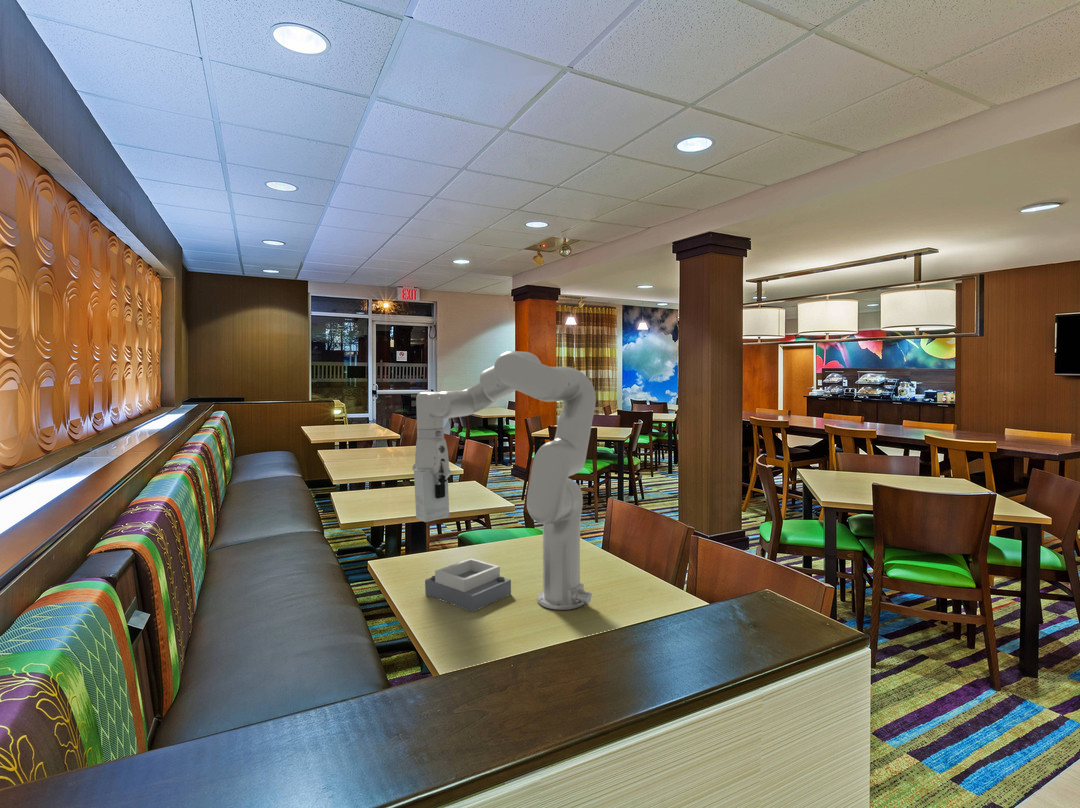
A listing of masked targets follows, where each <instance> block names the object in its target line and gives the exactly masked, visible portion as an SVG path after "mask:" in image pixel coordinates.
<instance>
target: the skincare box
mask: <svg viewBox="0 0 1080 808" xmlns="http://www.w3.org/2000/svg"><path fill="white" fill-rule="evenodd" d="M443 472H444V471H443ZM439 473H441V471H439ZM413 476H414V479H413V480H414V481H413V482H414V483H413V484H414V499H415V500H414V501H415V518H416V519H417V520H419V521H422V522H424V523H427V522H428V523H429V522H432V521H437V520H441V519H446V518H450V501H449V500H450V499H449V495H450V494H449V478H448V479H447V482H446V483H445V497H443V498H438V499H436V498H435V485H436V484H437V483H436V480H435V477H434V475H432V473H431V470H426V469H414V470H413ZM440 478H441V476H439V479H440Z"/></svg>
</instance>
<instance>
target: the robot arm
mask: <svg viewBox="0 0 1080 808" xmlns="http://www.w3.org/2000/svg"><path fill="white" fill-rule="evenodd" d="M516 391H517V392H520V393H522V394H523V395H524V394H525V395H527V396H529V397H531V398H533V399H536V400H539V401H541V402H545V403H546V402H547V403H550V402H551V403H552V402H563V406H562V409H561V411H560V414H559V415H558V420H557V424H556V425H557V426H556V430H555V436H554V439H553V440H550V441H548V442H547V441H546V442H545V443H544V444H543V445H541V446H540V447H539V449H538V450H537V452H536V453H535V456H534V457H533V462H532V465H531V466H532V467H531V472H530V477H529V483H528V488H527V494H526V509H527V511H528V514H529V516H530V517H531V519H532V520H533V521H535V522H536V523H538V524H541V525H543V527H542V585H543V586H542V590H541V591H540V592H538V594H537V596H536V601H537V602H538V604H539V605H540V606H542V607H544V608H546V609H550V610H555V611H556V610H557V611H567V610H572V609H573V610H575V609H578V608H579V607H582V606H583V605H585V604H587V605H589V604H590V603H591V601H592V596H593V594H592V592H590V591H586V590H584V587H585V586H584V584H583V583H581V520H582V519H581V518H582V514H583V513H582V510H583V504H584V498H583V491H582V489H581V487H580V485H579V484H578V483H577V482H576V481H574V480H573V479H572V478H569V477H571V476H574V475H577V474H579V472H581V471H582V470H583V468H584V466H585V464H586V460H587V454H588V448H589V442H590V437H591V431H592V424H593V419H594V415H595V411H596V402H597V401H596V398H597V396H596V391H595V388H594V385H593V383H592V381H591V380H590V378H588V376H587V375H585V374H584V372H582V371H580V370H579V369H577V368H573V367H569V366H549V365H546V364H544V363H542V362H541V360H540V359H539V357H538V356H537V355H536V354H534V353H531V352H529V351H517V350H516V351H515V350H510V351H506V352H503V353H502V354H500V355H499V356H498V357H497V358H496V359H495V362H494V365H493V366H491V367H489V368H487V369H485V370H483V371H482V372H481V374H480V375H479V381H478V383H476V384H474V385H472V386H470V387H467V388H466V389H463V390H449V391H448V390H446V391H422V392H421V391H420V392H418V393H417V395H416V399H415V400H416V401H415V402H416V434H417V436H416V442H415V443H416V444H415V457H414V460H415V461H414V464H413V465H412V467H411V469H412V470H413V471H414V469H426V470H431V473H432V475H434V477H435V480H436V483H437V484H436V485H435V498H436V499H438V498H443V497H445V483H446V482H447V479H448V480H449V477H450V476H451V474H452V471H451V469H450V461H449V460H450V459H449V451H448V450H449V449H448V445H447V442H446V441H447V440H446V439H445V437H444V436H445V431H444V419H453V418H459V417H460V418H462V417H467V416H470V415H474V414H475V413H478V412H480V411H483V410H484V409H486V408H489V407H490V406H492V404H494V403H495V402H497V401H498V400H499V399H502V398H503V397H505V396H508V395H510V394H512V393H514V392H516ZM439 471H441V473H439ZM443 471H444V472H443ZM439 476H441V478H440V479H439Z"/></svg>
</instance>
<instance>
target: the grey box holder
mask: <svg viewBox="0 0 1080 808" xmlns="http://www.w3.org/2000/svg"><path fill="white" fill-rule="evenodd" d="M500 568H501V566H499V565H497V564H493V563H490V562H487V561H482V560H478V559H476V558H472V557H471V558H468V559H464V560H462V561H461V560H460V561H459V562H456V563H454V564H451V565H448V566H445V567H442V568H439V569H436V570H435V571H434V575H432V576H431V577H428V578H426V579H424V588H425V589H424V590H425V591H424V592H425V593H424V594H426V596H428V595H429V596H428V597H431V596H432V597H431V598H433V597H435V598H434V599H436V598H438V599H437V600H439V599H441V600H440V601H442V600H444V601H447V602H449V603H448V604H450V603H452V604H455V605H457V606H456V607H458V606H460V607H459V608H461V607H463V608H466V609H468V610H467V611H469V610H471V611H474V612H476V611H475V610H477V609H479V608H481V607H483V606H485V607H487V606H489V605H491V604H490V603H492V602H494V601H496V600H498V601H500V600H502V599H504V598H503V597H505V596H507V595H509V596H511V595H512V579H511V578H506V577H504V576H501V569H500ZM510 594H511V595H510ZM507 597H508V596H507ZM501 598H502V599H501ZM505 598H506V597H505ZM499 599H500V600H499ZM444 601H443V602H444ZM447 602H446V603H447ZM496 602H497V601H496ZM494 603H495V602H494ZM452 604H451V605H452ZM488 604H489V605H488ZM492 604H493V603H492ZM455 605H454V606H455ZM486 605H487V606H486ZM463 608H462V609H463ZM483 608H484V607H483ZM466 609H465V610H466ZM481 609H482V608H481ZM479 610H480V609H479ZM471 611H470V612H471ZM477 611H478V610H477Z"/></svg>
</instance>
